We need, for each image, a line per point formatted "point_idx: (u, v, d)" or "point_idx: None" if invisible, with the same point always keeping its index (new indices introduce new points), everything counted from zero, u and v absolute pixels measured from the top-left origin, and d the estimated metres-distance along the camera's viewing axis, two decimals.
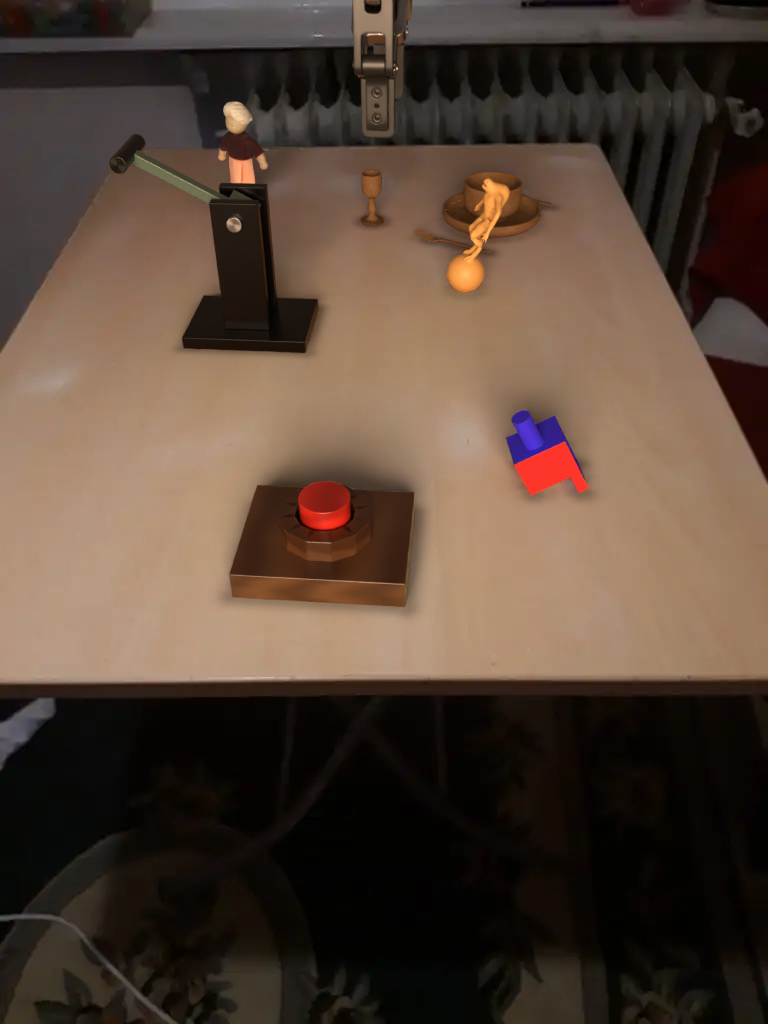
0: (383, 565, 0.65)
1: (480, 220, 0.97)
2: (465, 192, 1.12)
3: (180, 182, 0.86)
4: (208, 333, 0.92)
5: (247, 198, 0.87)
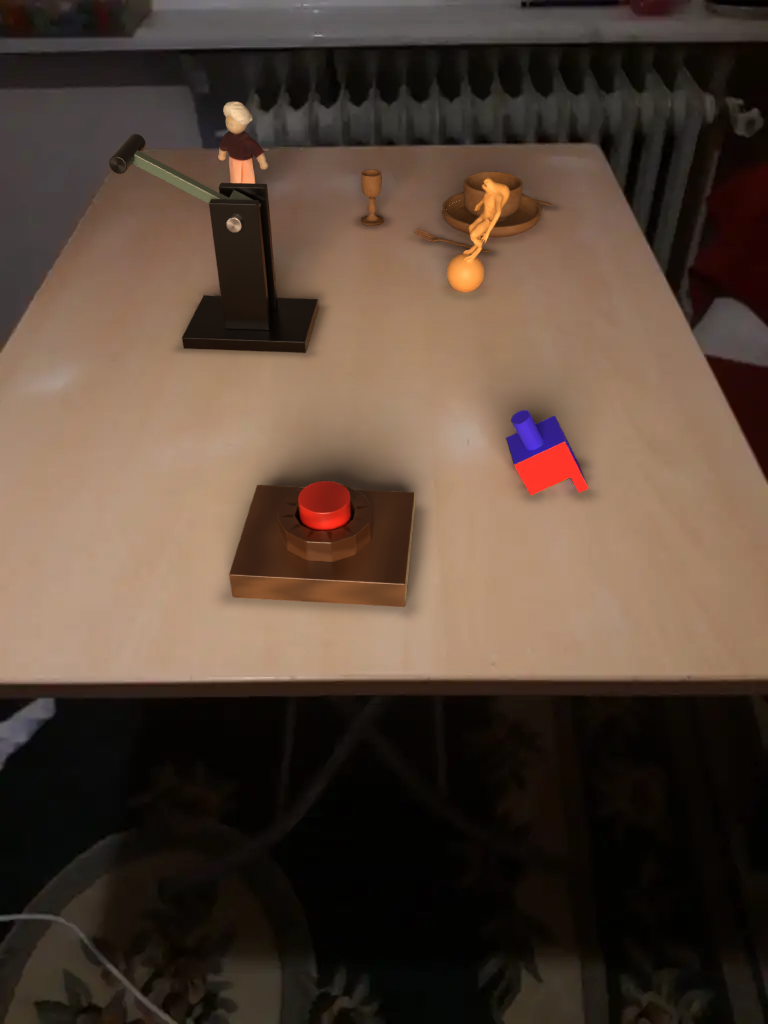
0: (383, 565, 0.65)
1: (480, 220, 0.97)
2: (465, 192, 1.12)
3: (180, 182, 0.86)
4: (208, 333, 0.92)
5: (247, 198, 0.87)
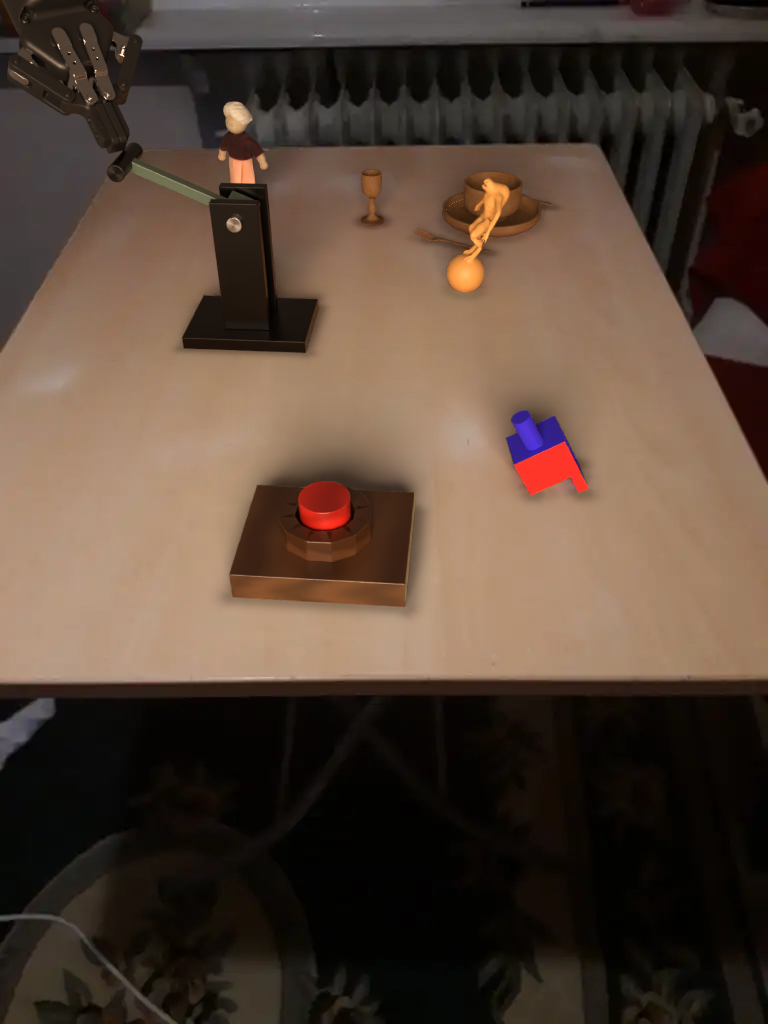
0: (383, 565, 0.65)
1: (480, 220, 0.97)
2: (465, 192, 1.12)
3: (178, 186, 0.86)
4: (208, 333, 0.92)
5: (246, 198, 0.87)
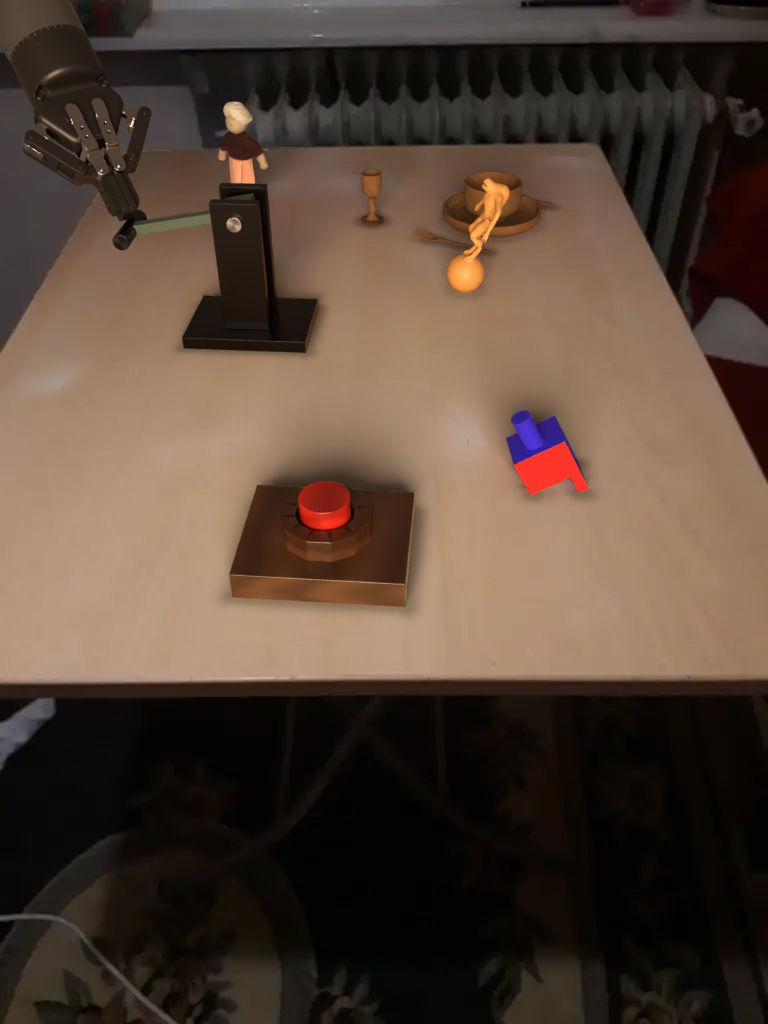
0: (383, 565, 0.65)
1: (480, 220, 0.97)
2: (465, 192, 1.12)
3: (179, 222, 0.88)
4: (208, 333, 0.92)
5: (239, 196, 0.87)
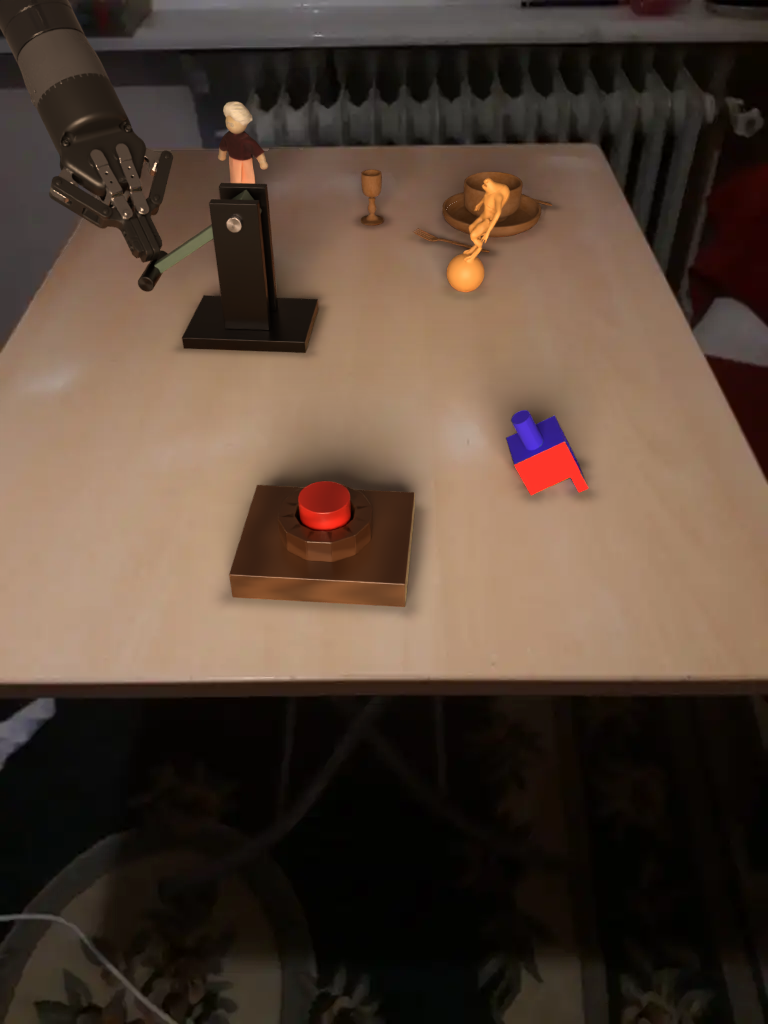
0: (383, 565, 0.65)
1: (480, 220, 0.97)
2: (465, 192, 1.12)
3: (191, 245, 0.89)
4: (208, 333, 0.92)
5: (234, 198, 0.87)
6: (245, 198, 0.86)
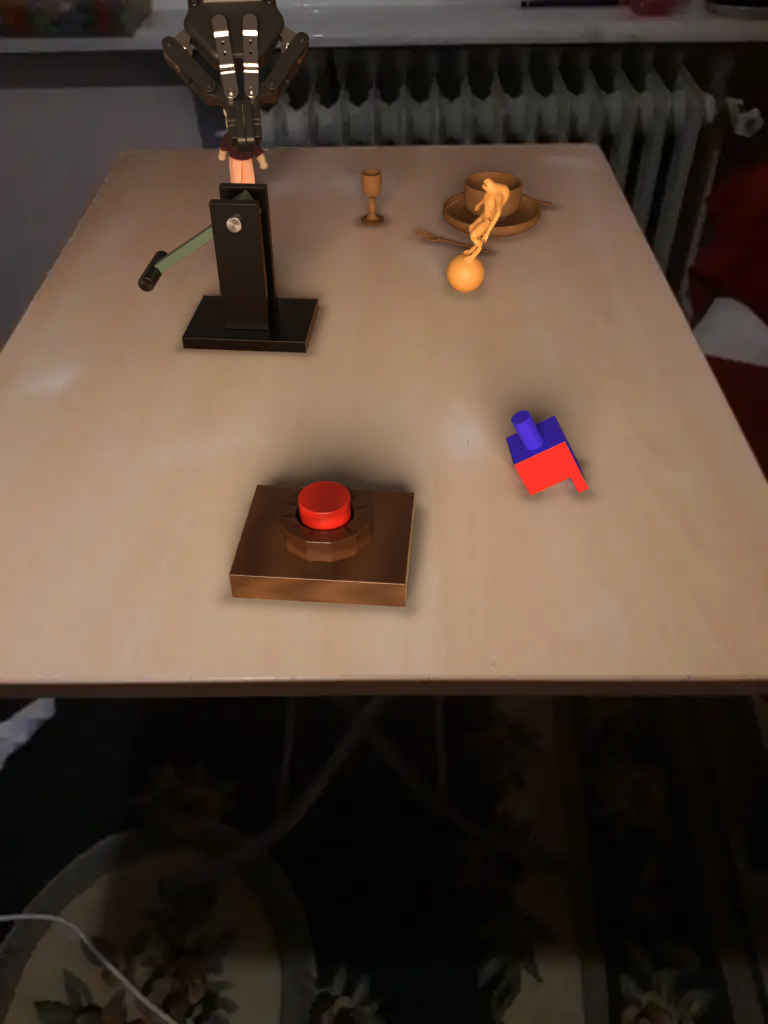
0: (383, 565, 0.65)
1: (480, 220, 0.97)
2: (465, 192, 1.12)
3: (191, 245, 0.89)
4: (208, 333, 0.92)
5: (234, 198, 0.87)
6: (245, 198, 0.86)
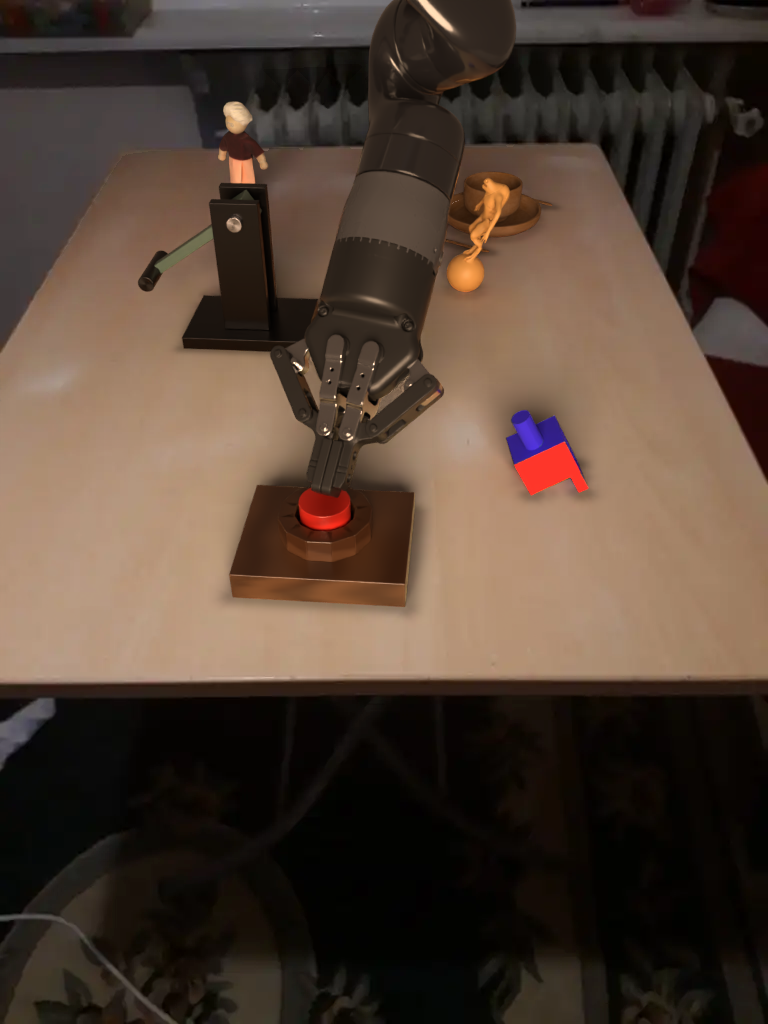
0: (383, 565, 0.65)
1: (480, 220, 0.97)
2: (465, 192, 1.12)
3: (191, 245, 0.89)
4: (208, 333, 0.92)
5: (234, 198, 0.87)
6: (245, 198, 0.86)
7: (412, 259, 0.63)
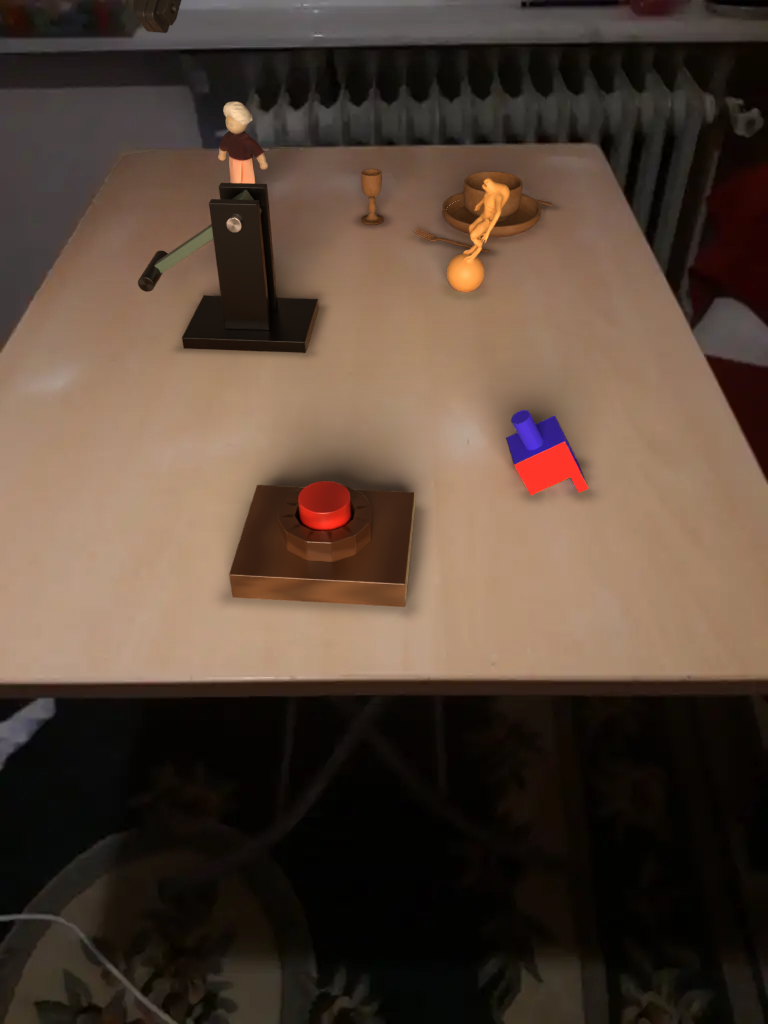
0: (383, 565, 0.65)
1: (480, 220, 0.97)
2: (465, 192, 1.12)
3: (191, 245, 0.89)
4: (208, 333, 0.92)
5: (234, 198, 0.87)
6: (245, 198, 0.86)
7: None
